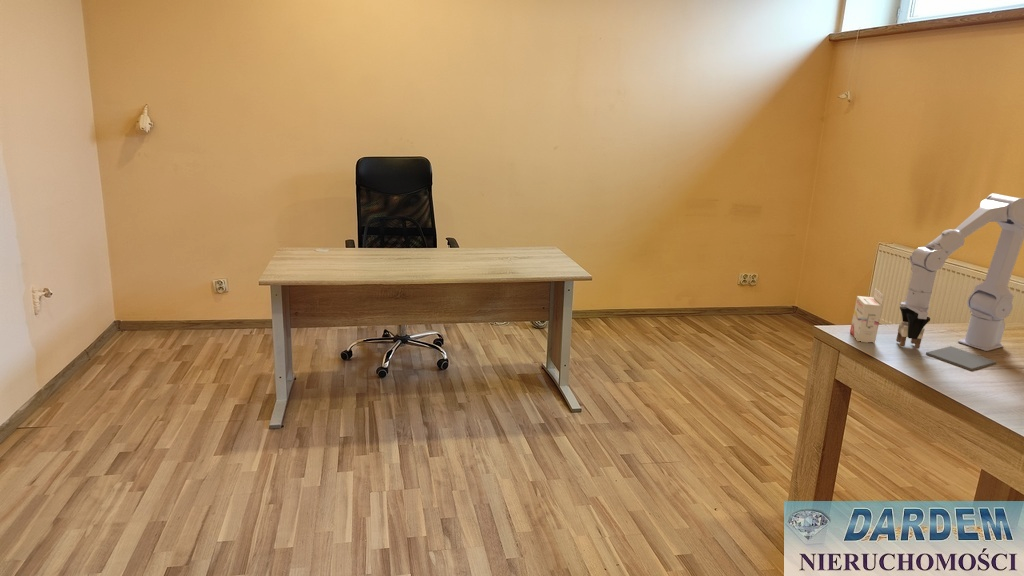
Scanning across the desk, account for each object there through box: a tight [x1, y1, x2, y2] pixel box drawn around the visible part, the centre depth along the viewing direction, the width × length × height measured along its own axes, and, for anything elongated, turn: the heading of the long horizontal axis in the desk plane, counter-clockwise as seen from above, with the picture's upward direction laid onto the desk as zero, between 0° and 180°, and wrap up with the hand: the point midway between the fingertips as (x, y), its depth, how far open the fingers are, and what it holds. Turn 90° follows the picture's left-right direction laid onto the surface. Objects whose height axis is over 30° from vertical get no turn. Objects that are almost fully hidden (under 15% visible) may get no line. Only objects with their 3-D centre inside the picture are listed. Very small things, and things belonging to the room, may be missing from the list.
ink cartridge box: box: [849, 287, 884, 344], centre depth 190 cm, size 9×5×15 cm, turn 168°
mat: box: [925, 345, 997, 371], centre depth 178 cm, size 12×12×1 cm
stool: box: [896, 320, 925, 349], centre depth 185 cm, size 5×5×6 cm
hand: (909, 335), depth 185 cm, fingers closed on stool, 5 cm apart
